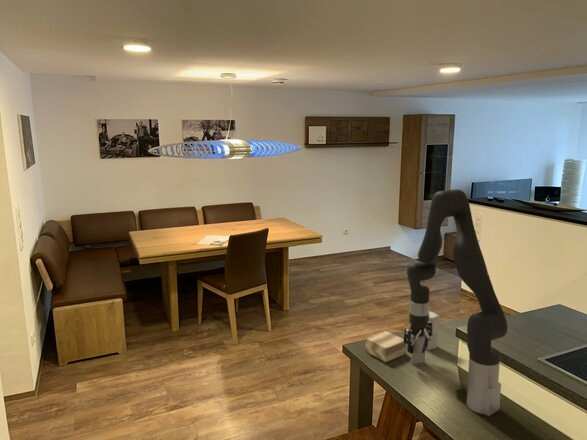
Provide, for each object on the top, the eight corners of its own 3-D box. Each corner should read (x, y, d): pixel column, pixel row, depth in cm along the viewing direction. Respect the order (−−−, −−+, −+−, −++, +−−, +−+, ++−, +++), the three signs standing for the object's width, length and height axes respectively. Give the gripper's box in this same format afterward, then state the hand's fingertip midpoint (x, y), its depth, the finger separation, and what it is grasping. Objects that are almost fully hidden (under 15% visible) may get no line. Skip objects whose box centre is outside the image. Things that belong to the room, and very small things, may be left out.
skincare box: (414, 344, 193) (415, 311, 190) (422, 340, 197) (423, 308, 194) (430, 350, 186) (431, 317, 184) (439, 346, 190) (440, 314, 187)
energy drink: (427, 362, 177) (428, 334, 175) (420, 367, 173) (421, 339, 171) (415, 358, 180) (415, 330, 178) (408, 363, 177) (409, 335, 174)
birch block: (406, 353, 184) (406, 340, 183) (385, 362, 178) (385, 348, 177) (385, 343, 194) (385, 330, 193) (365, 350, 188) (365, 337, 187)
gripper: (414, 319, 166) (412, 358, 169) (438, 310, 174) (437, 348, 177) (399, 312, 172) (398, 351, 175) (423, 304, 180) (422, 341, 183)
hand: (417, 349), depth 176 cm, fingers open, 8 cm apart
